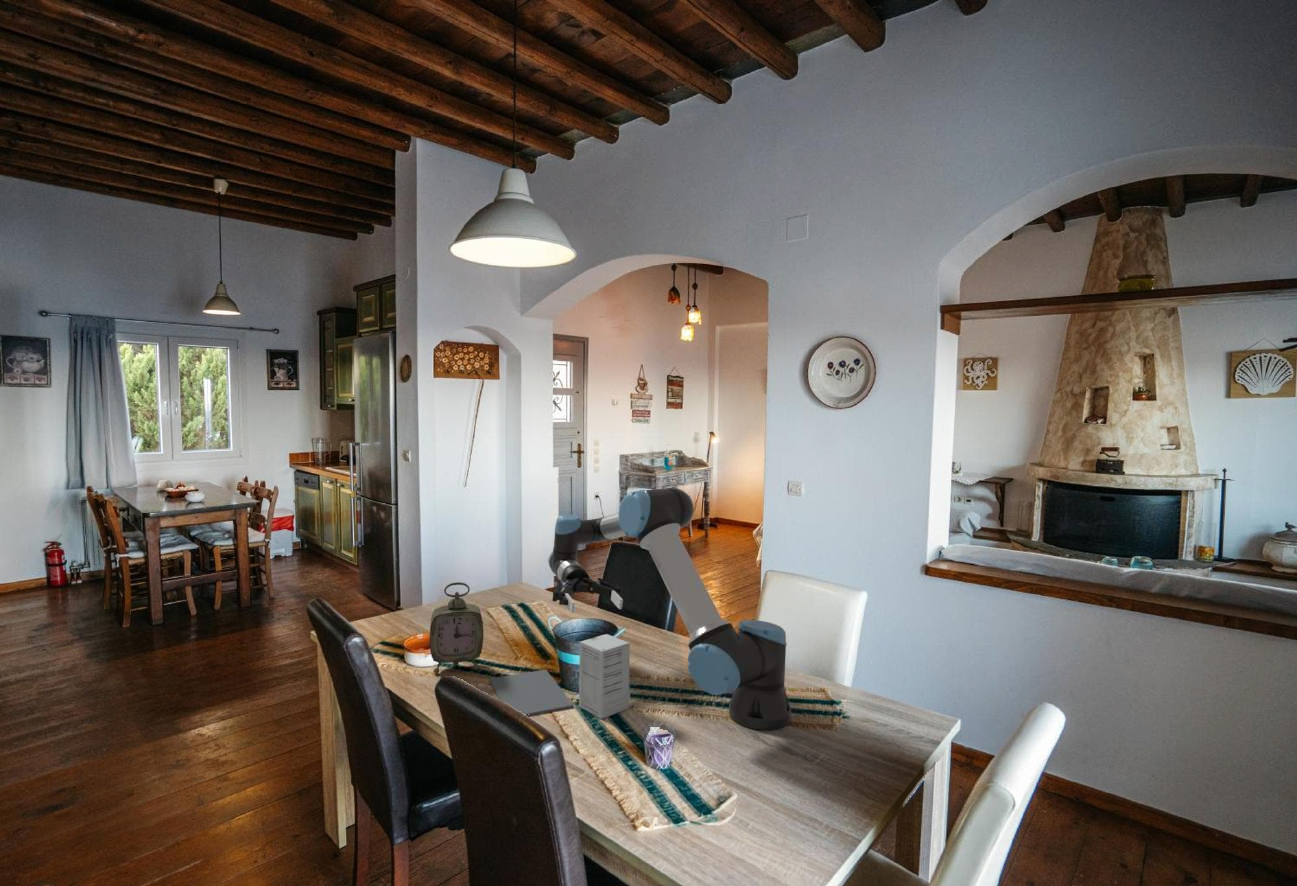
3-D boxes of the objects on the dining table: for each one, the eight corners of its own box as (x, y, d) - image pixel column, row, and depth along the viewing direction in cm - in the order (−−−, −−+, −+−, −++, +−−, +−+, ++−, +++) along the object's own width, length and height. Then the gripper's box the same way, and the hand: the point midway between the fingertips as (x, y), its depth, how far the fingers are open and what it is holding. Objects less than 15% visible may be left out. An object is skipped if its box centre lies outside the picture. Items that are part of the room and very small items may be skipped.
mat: (573, 707, 160) (573, 704, 160) (510, 718, 153) (510, 716, 153) (545, 671, 181) (545, 669, 181) (489, 680, 174) (489, 678, 174)
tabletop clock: (429, 677, 175) (430, 587, 174) (429, 664, 184) (430, 579, 183) (483, 671, 180) (484, 584, 179) (481, 659, 189) (482, 576, 187)
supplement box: (630, 708, 160) (631, 642, 159) (601, 720, 153) (603, 651, 153) (605, 695, 167) (607, 632, 166) (577, 706, 160) (578, 640, 160)
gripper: (611, 586, 194) (638, 616, 175) (530, 591, 183) (551, 622, 164) (613, 563, 193) (641, 590, 174) (533, 566, 182) (553, 595, 163)
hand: (597, 606), depth 169 cm, fingers open, 13 cm apart
